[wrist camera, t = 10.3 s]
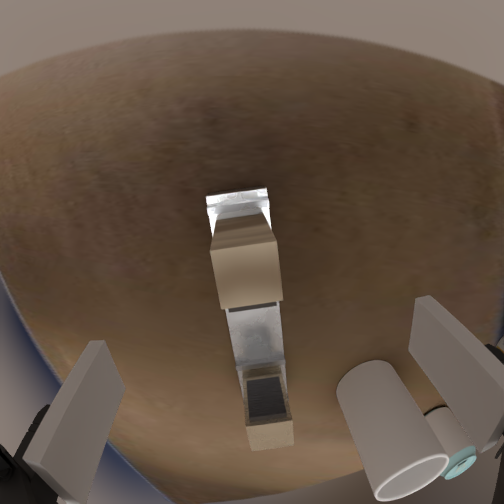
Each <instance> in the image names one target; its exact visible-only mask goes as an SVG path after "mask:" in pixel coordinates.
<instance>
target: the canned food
mask: <svg viewBox="0 0 504 504" xmlns="http://www.w3.org/2000/svg"><path fill="white" fill-rule="evenodd" d="M496 348H498V349H500V350H501V351H502V352H503V353H504V336H503V337H502V338H501V339H500V341H499V342H498V344H497V345H496Z"/></svg>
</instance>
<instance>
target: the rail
mask: <svg viewBox="0 0 504 504" xmlns="http://www.w3.org/2000/svg"><path fill="white" fill-rule="evenodd" d="M206 200H207V212H208V215H209V218H210V225H211V231H212V237H213V233H214V228H215V223H216V220H221V219H227V218H234V217H241V216H247V215H254V214H261V213H264V215H265V217H266V219H267V221H268V224H269V226H270V228H271V222H270V214H269V207H270V206H269V199H268V196H267V188H266V187H265V186H257V187H249V188H242V189H234V190H227V191H220V192H214V193H208V194H207V196H206ZM276 302H277V306H272V307H266V308H259V309H252V310H245V311H238V312H231V313H229V310H228V309H225V310H226V315H227V321H228V326H229V331H230V336H231V341H232V347H233V352H234V357H235V362H236V370H237V371H238V376H239V381H240V386H241V391H242V395H243V400H244V408H245V423H246V430H247V434H248V438H249V442H250V447H251V451H257V450H265V449H273V448H280V447H286V446H292V445H294V437H293V422H292V416H291V412H290V407H289V403H288V402H289V399H288V394H287V383H286V372H285V364H286V363H285V357H284V349H283V339H282V328H281V318H280V308H279V301H276Z"/></svg>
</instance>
